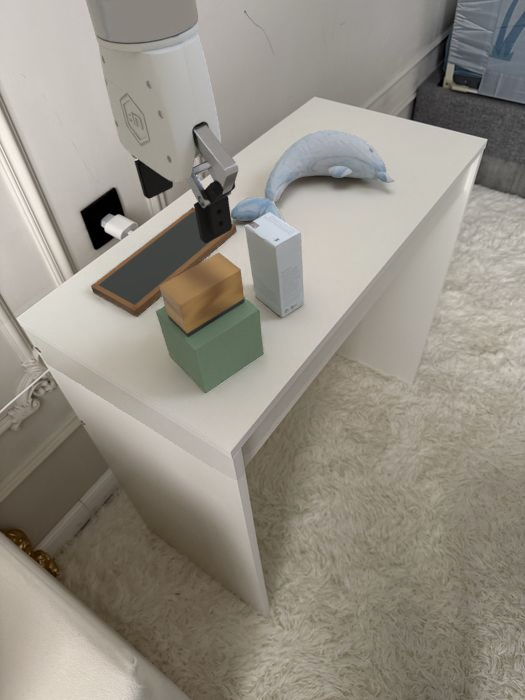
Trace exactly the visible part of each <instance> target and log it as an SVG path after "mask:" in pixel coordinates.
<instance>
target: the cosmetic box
mask: <svg viewBox="0 0 525 700" xmlns="http://www.w3.org/2000/svg"><path fill="white" fill-rule="evenodd" d="M244 230H245V236H246V243H247V251H248V257H249V263H250V271H251V278H252V284H253V291H254V296H255V297H256V298H257V299H258V300H259V301H261V302H262V303H263V304H264V305H266V307H268V308H269V309H271V310H272V311H273V312H274V313H275V314H276V315H277V316H279V317H280V318H284V317H286V316H288V315H290V314H291V313H293V312H294V311H296V310H298V309H299V308H300V307H303V305H304V304H305V291H304V290H305V289H304V268H303V249H302V232H301V231H300V230H298V229H296V228H295V227H294V226H292V225H291V224H289V223H287V222H284V221H283V220H281V219H280V218H278V217H277V216H275V215H274V214H272V213H271V212H269V213H267V214H265V215H263V216H261V217H258V218H257V219H255V220H251V221H250V222H249V223H247V224H245V225H244Z"/></svg>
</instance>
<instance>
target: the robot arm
mask: <svg viewBox="0 0 525 700" xmlns="http://www.w3.org/2000/svg"><path fill="white" fill-rule="evenodd" d="M85 2H86V7H87V9H88V14H89V17H90V21H91V24H92V28H93V31H94V35H95V38H96V39H95V40H96V42H97V44H98V50H99V56H100V64H101V68H102V73H103V78H104V82H105V87H106V91H107V96H108V100H109V105H110V109H111V112H112V117H113V120H114V125H115V129H116V132H117V136H118V139H119V142H120V144H121V145H122V147H123V148H124V149H125V150H126V151H127V152H128V153H130V156H131V157H132V158H133V159H134V166H135V169H136V172H137V176H138V179H139V183H140V187H141V191H142V195H143V197H145V198H146V199H147V200H150V199H152V198H155V197H156V196H159V195H161V194H163V193H164V192H167V191H168V190H170V189H171V190H172V188H173V187H174V184H182V183H183V182H185V180H186V182H187V184H188V186H189V188H190V190H191V191H192V193H193V195H194V197H195V199H196V201H197V202H195V203H193V208H194V209H195V214H196V219H197V224H198V229H199V234H200V239H201V240H202V241H203V242H204V243H208V242H210V241H212V240H214V239H216V238H217V237H219V236H221V235H223V234H225V233H226V232H228V231H230V230H231V228H232V224H233V223H232V217H231V209H230V200H229V196H231V195H232V191H234V190H235V189H236V181H237V176H238V173H239V166H238V163H237V161H236V160H235V159H234V158H233V157H232V155H231V154H230V153H229V152H228V151H227V149H226V148H225V147H224V145H223V144H222V136H221V128H220V122H219V116H218V110H217V105H216V99H215V95H214V89H213V85H212V80H211V76H210V72H209V67H208V62H207V60H206V55H205V51H204V48H203V44H202V41H201V37H200V35H199V34H198V32H199V30H200V20H199V19H200V18H199V14H198V7H197V6H198V5H197V0H85ZM198 158H200V159H202V160H204V161H203V162H201V163H199V164H196V165H195V166H194V164H195V160H196V159H198ZM206 172H208V173H209V175H210V178H212V182H210V183H209V184H208V185H207V187H206V188H204V186H203V184H202V182H201V179H200V178H199V175H201V174H203V173H206Z"/></svg>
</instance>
